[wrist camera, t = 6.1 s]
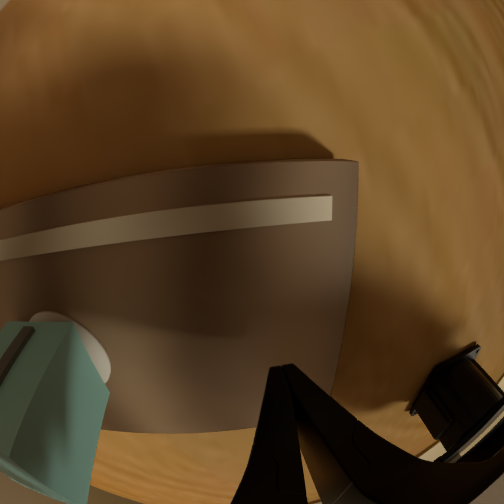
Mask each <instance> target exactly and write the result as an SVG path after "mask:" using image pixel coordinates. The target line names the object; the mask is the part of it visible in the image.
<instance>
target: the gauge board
mask: <svg viewBox="0 0 504 504" xmlns="http://www.w3.org/2000/svg"><path fill="white" fill-rule="evenodd" d="M357 206H358V161H352V160H346V159H285V160H263V161H247V162H233V163H222V164H212V165H202V166H193V167H185V168H177V169H170V170H163V171H156V172H150V173H144V174H138V175H132V176H126V177H121V178H116V179H111V180H106V181H101V182H96V183H92V184H87V185H83V186H79V187H74V188H70V189H66V190H62V191H58V192H55V193H51V194H47V195H44V196H40V197H37V198H33V199H30V200H26V201H23V202H20V203H17V204H14V205H11V206H8V207H5V208H2V209H0V331H1V330H2V328H3V327H4V326H5V325H6V323H7V322H8V321H18V322H73V323H74V325H75V327H76V329H77V332H78V334H79V336H80V338H81V340H82V342H83V344H84V346H85V348H86V350H87V352H88V354H89V356H90V358H91V360H92V362H93V364H94V366H95V367H96V369H97V371H98V373H99V375H100V376H101V378H102V380H103V382H104V383H105V385H106V387H107V388H108V390H109V392H110V394H109V398H108V402H107V405H106V409H105V413H104V417H103V421H102V425H101V429H102V430H111V431H122V432H136V433H166V434H173V433H204V432H218V431H229V430H238V429H247V428H254V427H257V424H258V419H259V415H260V410H261V405H262V401H263V396H264V391H265V386H266V381H267V376H268V371H269V368H270V367H272V366H278V365H280V366H282V365H284V364H290V363H293V364H295V365H296V366H297V367H298V368H299V369H300V370H301V371H302V372H303V373H305V374H306V375H307V376H308V377H309V378H310V379H311V380H312V381H314V382H315V383H316V384H317V385H318V386H319V387H320V388H321V389H323V390H324V391H325V392H326V393H327V394H328V395H329V396H331V392H332V388H333V383H334V379H335V374H336V370H337V365H338V360H339V355H340V350H341V345H342V339H343V334H344V328H345V322H346V316H347V309H348V302H349V295H350V287H351V279H352V271H353V261H354V251H355V239H356V224H357Z"/></svg>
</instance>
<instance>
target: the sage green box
mask: <svg viewBox="0 0 504 504" xmlns="http://www.w3.org/2000/svg"><path fill="white" fill-rule="evenodd" d="M109 394H110V392H109V390H108V388H107V387H106V385H105V383H104V382H103V380H102V378H101V376H100V375H99V373H98V371H97V369H96V367H95V366H94V364H93V362H92V360H91V358H90V356H89V354H88V352H87V350H86V348H85V346H84V344H83V342H82V340H81V338H80V336H79V334H78V332H77V329H76V327H75V325H74V323H73V322H18V321H8V322H7V323H6V325H5V326H4V327H3V328H2V330H1V331H0V471H1V472H2V473H4V474H5V475H6V476H7V477H9V478H10V479H12V480H13V481H15V482H17V483H19V484H21V485H23V486H25V487H28V488H30V489H32V490H34V491H36V492H39V493H41V494H44V495H46V496H48V497H51V498H54V499H56V500H59V501H62V502H65V503H67V504H87V501H88V493H89V486H90V480H91V474H92V468H93V463H94V457H95V452H96V448H97V443H98V438H99V434H100V429H101V425H102V421H103V417H104V413H105V409H106V405H107V402H108V398H109Z"/></svg>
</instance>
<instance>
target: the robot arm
mask: <svg viewBox="0 0 504 504" xmlns="http://www.w3.org/2000/svg"><path fill="white" fill-rule="evenodd" d="M480 349H481V347H480V346H479V345H478V344H477V345H475V346H474V347H472V348H470V349H468V350H467V351H465V352H463V353H461V354H459V355H458V356H456V357H454V358H452V359H450V360H448V361H446V362H444V363H442V364H440V365H438V366H437V367H435V368H434V369H433V371H432V372H431V374H430V376H429V378H428V380H427V382H426V384H425V386H424V387H423V389H422V391H421V393H420V395H419V396H418V398H417V400H416V402H415V403H414V405H413V407H412V408H411V410H410V412H409V413H410V415H411V416H414V415H416V414H418V415H419V416H420V418H421V419H422V421H423V422H424V424H425V425H426V427H427V429H428V430H429V432H430V433H431V435H432V436H433V438H434V439H435V440H438V439H439V440H440V442H441V443H442V445H443V446H444V448H445V449H446V451H447V452H446V453H445V454H443V455H442V456H440V457H438V458H437V459H436V460H434V462H430V461H426V460H422V459H420V458H417V457H415V456H413V455H411V454H409V453H408V452H406V451H404V450H402V449H400V448H399V447H397V446H395V445H393V444H392V443H390V442H388V441H387V440H385V439H384V438H382V437H380V436H379V435H377V434H376V433H374V432H373V431H372V430H370V429H369V428H368V427H366V426H365V425H364V424H363V423H362V422H360V421H359V420H357V418H355V417H354V416H353V415H352V414H351V413H349V412H348V411H347V410H346V409H345V408H343V407H342V406H341V405H340V404H339V403H338V402H336V401H335V400H334V399H333V398H332V397H331V396H329V395H328V394H327V393H326V392H325V391H324V390H323V389H321V388H320V387H319V386H318V385H317V384H316V383H315V382H314V381H312V380H311V379H310V378H309V377H308V376H307V375H306V374H305V373H303V372H302V371H301V370H300V369H299V368H298V367H297V366H296V365H295V364H293V363H290V364H284V365H282V366H280V365H278V366H272V367H270V368H269V371H268V376H267V381H266V386H265V391H264V396H263V401H262V405H261V410H260V415H259V419H258V424H257V428H256V433H255V437H254V441H253V445H252V449H251V454H250V457H249V461H248V464H247V467H246V470H245V472H244V475H243V478H242V480H241V482H240V484H239V487H238V489H237V491H236V493H235V495H234V497H233V500H232V502H231V504H308V502H307V497H306V488H305V480H304V473H303V466H302V459H301V453H300V449H301V451H302V454H303V457H304V459H305V462H306V464H307V467H308V469H309V472H310V474H311V477H312V479H313V482H314V484H315V487H316V489H317V492H318V494H319V497H320V499H321V502H322V504H504V417H503V418H502V419H501V420H500V421H499V422H498V423H497V425H495V426H494V427H493V429H492V430H491V431H490V432H488V433H487V435H485V436H484V437H483V438H482V439H481V440H480V441H479V442H478V443H477V444H476V445H475V446H474V447H472V448H471V449H470V450H469V451H468V452H467V453H465V454H464V455H463V456H462V457H461V456H460V455H459V454H460V453H461V452H462V451H463V450H464V449H465V448H466V447H468V446H469V445H470V444H471V443H472V442H473V441H474V440H475V439H476V438H478V437H479V436H480V435H481V434H482V433H483V432H484V431H485V430H486V429H487V428H488V427H489V426H490V425H491V424H492V423H493V422H494V421H495V420H496V419H497V417H499V415H500V414H501V413H502V412H503V411H504V392H503V391H502V390H501V388H500V387H499V386H498V385H497V384H496V383H495V382H494V380H493V379H492V378H491V377H490V376H489V375H488V374H487V373H486V372H485V370H484V369H483V368H482V367H481V366H480V365H479V364H478V363H477V362H476V361H475V359H476V357H477V355H478V353H479V351H480Z"/></svg>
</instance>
